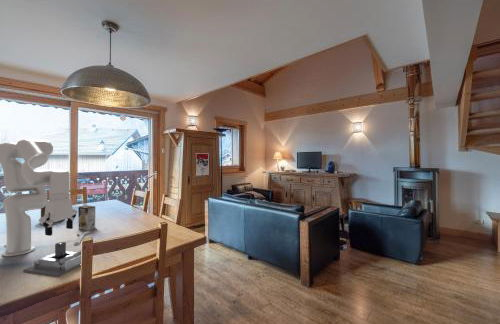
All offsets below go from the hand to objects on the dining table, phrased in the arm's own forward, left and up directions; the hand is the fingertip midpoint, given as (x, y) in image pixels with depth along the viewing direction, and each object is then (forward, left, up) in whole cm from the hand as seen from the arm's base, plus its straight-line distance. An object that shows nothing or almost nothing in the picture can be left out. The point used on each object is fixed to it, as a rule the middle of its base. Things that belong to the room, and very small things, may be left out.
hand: (59, 231), depth 109 cm
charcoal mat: (-1, 0, -17) cm, 17 cm away
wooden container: (-83, +60, -17) cm, 103 cm away
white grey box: (+2, 0, -16) cm, 16 cm away
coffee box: (-39, +50, -17) cm, 65 cm away
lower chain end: (-1, 0, -16) cm, 16 cm away
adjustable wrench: (-25, +32, -17) cm, 44 cm away
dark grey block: (0, 0, -16) cm, 16 cm away
